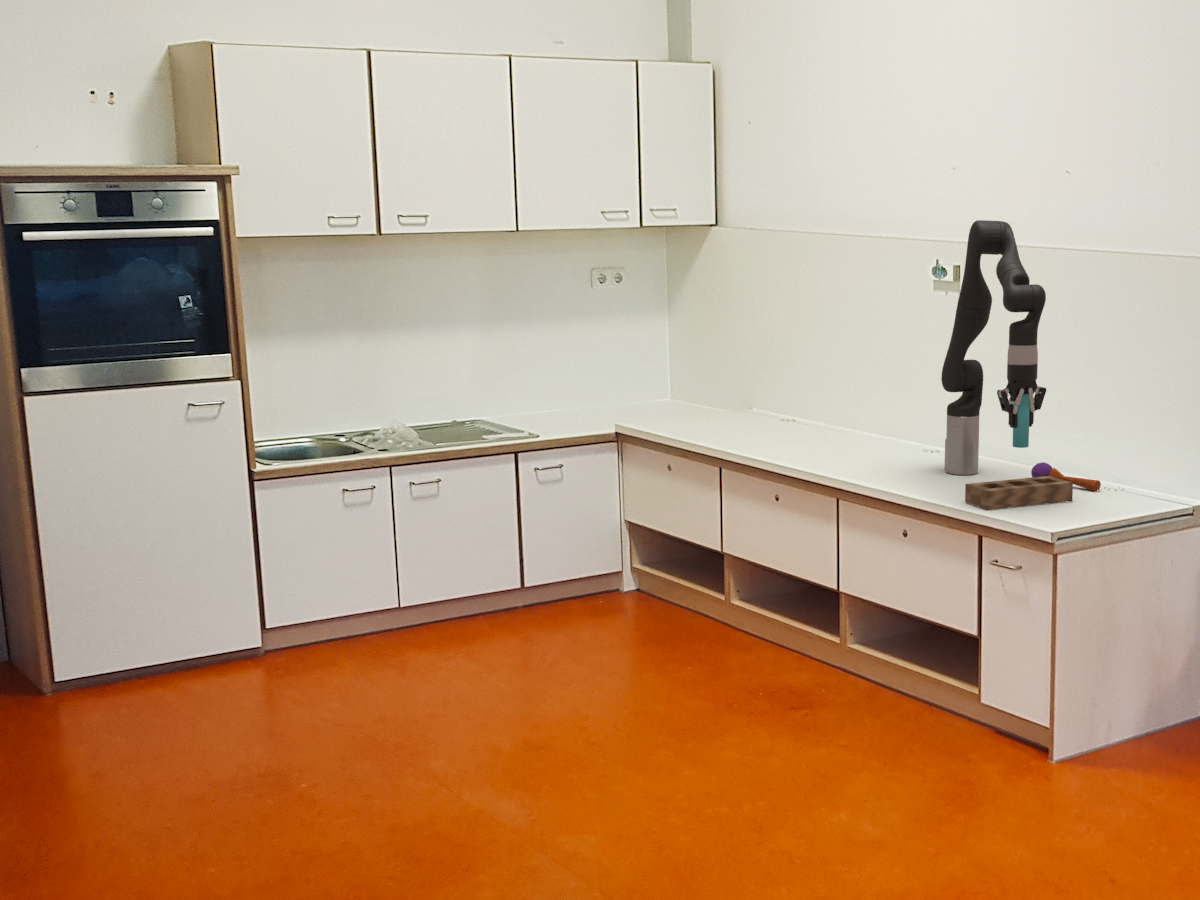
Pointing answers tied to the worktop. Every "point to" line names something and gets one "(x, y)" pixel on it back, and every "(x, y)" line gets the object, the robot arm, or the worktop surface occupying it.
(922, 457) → the worktop surface
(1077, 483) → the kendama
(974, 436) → the robot arm
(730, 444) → the worktop surface
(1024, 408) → the pin
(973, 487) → the bore block
